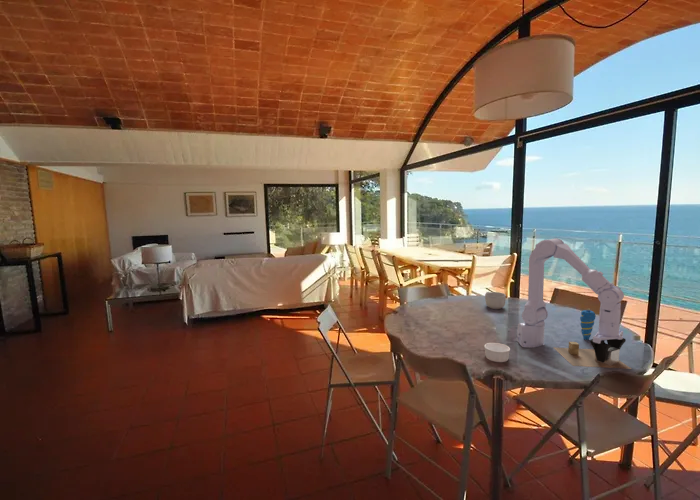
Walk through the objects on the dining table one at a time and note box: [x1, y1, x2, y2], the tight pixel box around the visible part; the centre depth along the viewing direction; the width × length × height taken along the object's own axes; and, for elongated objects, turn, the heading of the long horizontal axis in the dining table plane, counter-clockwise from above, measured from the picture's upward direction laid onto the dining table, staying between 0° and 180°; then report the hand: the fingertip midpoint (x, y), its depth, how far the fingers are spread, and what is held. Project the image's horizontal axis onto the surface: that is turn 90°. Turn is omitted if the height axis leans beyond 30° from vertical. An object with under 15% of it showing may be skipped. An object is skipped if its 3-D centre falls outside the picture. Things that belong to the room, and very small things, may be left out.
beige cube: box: [595, 346, 621, 366], centre depth 119 cm, size 5×5×5 cm
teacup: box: [484, 291, 507, 310], centre depth 193 cm, size 14×11×8 cm
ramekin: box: [483, 342, 511, 363], centre depth 127 cm, size 9×9×4 cm
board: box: [553, 341, 632, 370], centre depth 122 cm, size 18×16×6 cm
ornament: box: [579, 308, 597, 341], centre depth 139 cm, size 5×5×15 cm
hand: (606, 359), depth 119 cm, fingers open, 7 cm apart
